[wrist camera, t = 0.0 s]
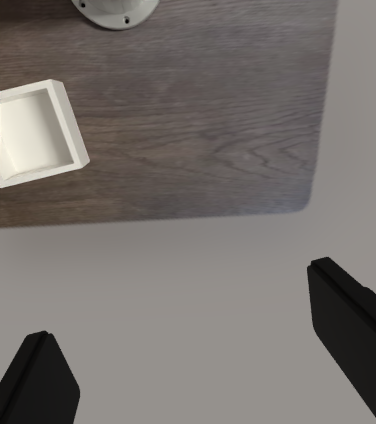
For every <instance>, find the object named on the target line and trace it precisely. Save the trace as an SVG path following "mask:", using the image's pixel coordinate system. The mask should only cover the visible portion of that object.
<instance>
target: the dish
mask: <svg viewBox="0 0 376 424" xmlns="http://www.w3.org/2000/svg"><path fill="white" fill-rule="evenodd" d="M89 162H90V160H89V157H88V154H87V151H86V148H85V145H84V143H83V140H82V137H81V134H80V131H79V128H78V125H77V122H76V120H75V117H74V114H73V111H72V108H71V105H70V102H69V99H68V97H67V94H66V91H65V88H64V85H63V82H59V81H55V80H52V79H49V80H45V81H41V82H37V83H33V84H28V85H24V86H20V87H16V88H12V89H8V90H4V91H0V188H3V187H7V186H11V185H15V184H19V183H23V182H27V181H31V180H35V179H39V178H43V177H47V176H51V175H55V174H59V173H63V172H67V171H71V170H75V169H79V168H83V167H84V166H85V165H86V164H87V163H89Z"/></svg>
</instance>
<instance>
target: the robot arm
mask: <svg viewBox="0 0 376 424" xmlns="http://www.w3.org/2000/svg"><path fill="white" fill-rule="evenodd" d="M72 2H73V4H74V5H75V6H76V7H77V9H78V10H79V11H80V12H81V13H82V14H83V15H84V16H85V17H86V18H88V19H89V20H91V21H92V22H93V23H95V24H97V25H99V26H101V27H104V28H108V29H112V30H125V29H131V28H133V27H136V26H138V25H140V24H141V23H143V22H144V21H146V20H147V19H148V18H149V17H150V16H151V15H152V14H153V13H154V11H155V9H156V8H157V6H158V5H159V2H160V0H72ZM82 4H85V7H84V8H82ZM126 20H128V21H129V23H128V24H126V23H125V21H126ZM307 274H308V284H309V293H310V303H311V313H312V322H313V327H314V330H315V332H316V334H317V336H318V337H319V339H320V340H321V341H322V343H323V344H324V346H325V347H326V348H327V350H328V351H329V353H330V354H331V356H332V357H333V358H334V360H335V361H336V363H337V364H338V365H339V366H340V368H341V370H342V371H343V372H344V373H345V375H346V376H347V378H348V379H349V381H350V382H351V384H352V385H353V386H354V387H355V389H356V390H357V392H358V393H359V395H360V396H361V397H362V399H363V400H364V402H365V403H366V405H367V406H368V407H369V409H370V410H371V412H372V413H373V414H374V416H375V417H376V294H375V293H374V292H373V291H372V290H370V289H369V288H367V287H363V286H362V285H361V284H360V283H358V282H357V281H356V280H355V279H354V278H353V277H351V276H350V275H349V274H348V273H347V272H346V271H345V270H343V269H342V268H341V267H340V266H339V265H338V264H336V263H335V262H334V261H333V260H331V258H329V257H324V258H320V259H317V260H313V261H311V265H310V266H308V267H307ZM79 398H80V389H79V386H78V384H77V382H76V380H75V378H74V376H73V374H72V372H71V370H70V368H69V366H68V364H67V362H66V360H65V358H64V355H63V354H62V351H61V349H60V348H59V345H58V343H57V341H56V339H55V338H54V336H53V334H51V333H50V334H48V332H46V331H41V332H37V333H33V334H29V335H27V336H26V338H25V339H24V341H23V343H22V345H21V346H20V348H19V350H18V352H17V354H16V355H15V357H14V359H13V361H12V362H11V364H10V366H9V368H8V369H7V371H6V373H5V375H4V376H3V378H2V380H1V382H0V424H73V422H74V418H75V414H76V410H77V406H78V402H79Z"/></svg>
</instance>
